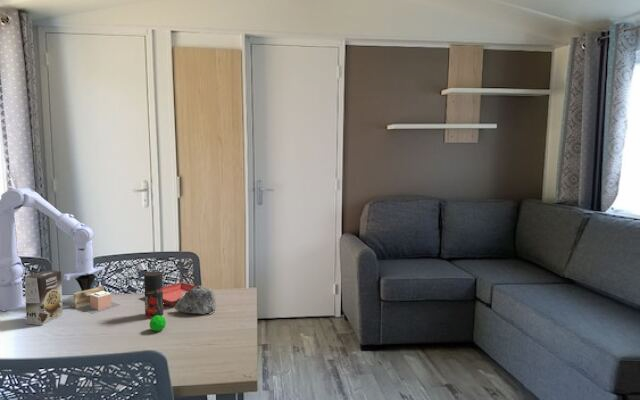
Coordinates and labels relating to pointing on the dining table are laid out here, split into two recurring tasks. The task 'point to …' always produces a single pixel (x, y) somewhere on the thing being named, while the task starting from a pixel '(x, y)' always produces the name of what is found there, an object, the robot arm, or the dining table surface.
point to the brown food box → (43, 297)
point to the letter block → (100, 300)
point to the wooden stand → (85, 296)
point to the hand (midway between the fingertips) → (85, 294)
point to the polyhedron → (157, 323)
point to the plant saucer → (170, 291)
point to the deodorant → (153, 294)
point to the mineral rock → (197, 301)
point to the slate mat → (86, 308)
